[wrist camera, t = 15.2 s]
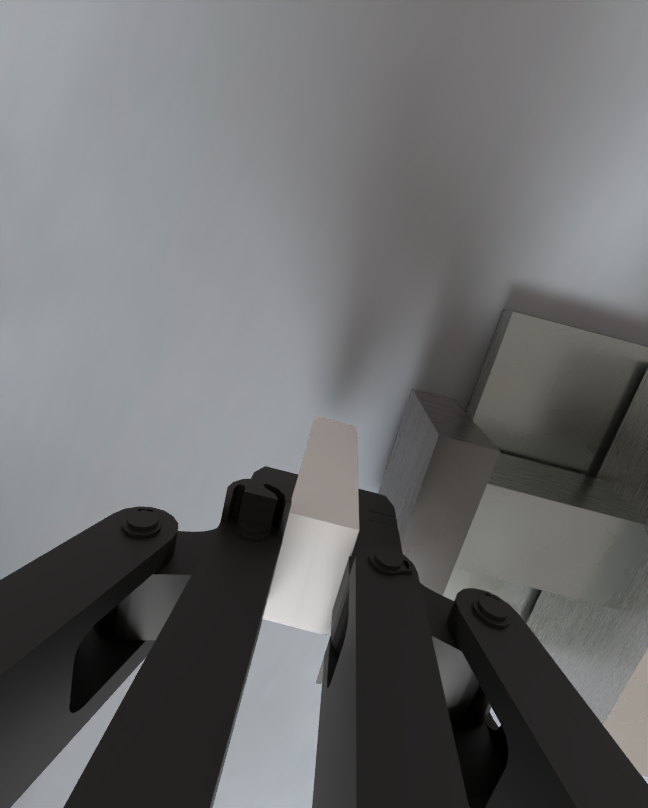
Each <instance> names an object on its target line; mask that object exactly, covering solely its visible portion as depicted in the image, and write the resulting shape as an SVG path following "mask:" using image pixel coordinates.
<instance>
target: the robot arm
mask: <svg viewBox="0 0 648 808" xmlns="http://www.w3.org/2000/svg"><path fill="white" fill-rule="evenodd" d="M397 527H398V525H397V519H396V514H395V508H394V506H393V505H392V503H391V502H390V501H389V500H388V498H387V497H386V496H385V495H381V494H377V493H373V492H369V491H365V490H361V489H358V456H357V427H356V426H352V425H348V424H344V423H340V422H336V421H332V420H328V419H325V418H321V417H317V416H315V419H314V422H313V426H312V429H311V433H310V436H309V440H308V443H307V447H306V450H305V454H304V457H303V461H302V464H301V468H300V471H299V475H297V474H293V473H290V472H286V471H282V470H278V469H274V468H270V467H266V466H265V467H263V468H261V469H259V470H258V471H256V472H254V474H253V476H252V478H251V479H242V480H239V481H235V482H233V483H232V484H231V485H230V486H228V488H227V493H226V498H225V503H224V508H223V513H222V518H221V522H220V524H219V526H218V528H216V529H214V530H209V531H204V532H184V531H178V523H177V521H176V520H175V518H174V517H173V516H172V515H170V514H169V513H167V512H165V511H163V510H160V509H156V508H153V507H133V508H127V509H123V510H121V511H118V512H116V513H113V514H112V515H110V516H108V517H107V518H105V519H103V520H102V521H100V522H98V523H96V524H95V525H93V526H91V527H90V528H88V529H86V530H85V531H83V532H81V533H79V534H78V535H76V536H74V537H73V538H71V539H69V540H68V541H66V542H64V543H63V544H61V545H59V546H57V547H56V548H54V549H52V550H51V551H49V552H47V553H46V554H44V555H42V556H40V557H39V558H37V559H35V560H34V561H32V562H30V563H29V564H27V565H25V566H23V567H22V568H20V569H18V570H17V571H15V572H13V573H12V574H10V575H8V576H6V577H5V578H3V579H1V580H0V808H10V807H11V806H12V805H13V804H14V803H15V802H16V801H17V800H18V798H19V797H20V796H21V795H22V794H23V793H24V792H25V791H26V790H27V788H28V787H29V786H30V785H31V784H32V783H33V782H34V781H35V780H36V778H37V777H38V776H39V775H40V774H41V773H42V772H43V771H44V770H45V768H46V767H47V766H48V765H49V764H50V763H51V762H52V761H53V760H54V758H55V757H56V756H57V755H58V754H59V753H60V752H61V751H62V750H63V748H64V747H65V746H66V745H67V744H68V743H69V742H70V741H71V740H72V738H73V737H74V736H75V735H76V734H77V733H78V732H79V731H80V730H81V728H82V727H83V726H84V725H85V724H86V723H87V722H88V721H89V720H90V718H91V717H92V716H93V715H94V714H95V713H96V712H97V711H98V710H99V709H100V707H101V706H102V705H103V704H104V703H105V702H106V701H107V700H108V699H109V697H110V696H111V695H112V694H113V693H114V692H115V691H116V690H117V689H118V687H119V686H120V685H121V684H122V683H123V682H124V681H125V680H126V679H127V677H128V676H129V675H130V674H131V673H132V672H133V671H134V670H135V669H136V667H137V666H138V665H139V664H140V663H141V662H142V661H143V660H144V659H145V657H146V656H147V657H146V659H145V661H144V662H143V664H142V666H141V668H140V670H139V671H138V673H137V675H136V677H135V679H134V681H133V682H132V684H131V686H130V688H129V690H128V691H127V693H126V695H125V697H124V699H123V701H122V702H121V704H120V706H119V708H118V710H117V711H116V713H115V715H114V717H113V719H112V721H111V722H110V724H109V726H108V728H107V730H106V731H105V733H104V735H103V737H102V739H101V740H100V742H99V744H98V746H97V748H96V750H95V751H94V753H93V755H92V757H91V759H90V760H89V762H88V764H87V766H86V768H85V770H84V771H83V773H82V775H81V777H80V779H79V780H78V782H77V784H76V786H75V788H74V790H73V791H72V793H71V795H70V797H69V799H68V800H67V802H66V804H65V806H64V808H213V804H214V800H215V796H216V792H217V789H218V785H219V781H220V777H221V774H222V770H223V766H224V762H225V759H226V755H227V751H228V747H229V744H230V740H231V736H232V732H233V729H234V725H235V721H236V717H237V714H238V710H239V706H240V702H241V699H242V695H243V691H244V687H245V684H246V680H247V676H248V672H249V669H250V665H251V661H252V657H253V654H254V650H255V646H256V642H257V639H258V635H259V631H260V627H261V623H262V619H264V620H268V621H272V622H276V623H280V624H284V625H288V626H292V627H296V628H300V629H304V630H307V631H311V632H315V633H319V634H323V635H327V633H328V630H329V627H330V623H331V620H332V624H331V636H330V639H329V642H328V646H327V649H326V652H325V655H324V658H323V662H322V665H321V668H320V671H319V674H318V678H317V681H316V683H318V684H321V683H322V693H321V705H320V718H319V730H318V743H317V755H316V767H315V780H314V792H313V804H312V808H648V784H647V783H646V781H645V780H644V779H643V777H642V776H641V775H640V773H639V772H638V771H637V769H636V768H635V767H634V765H633V764H632V763H631V761H630V760H629V759H628V757H627V756H626V755H625V753H624V752H623V751H622V750H621V748H620V747H619V746H618V744H617V743H616V742H615V740H614V739H613V738H612V736H611V735H610V734H609V732H608V731H607V730H606V728H605V727H604V726H603V724H602V723H601V722H600V720H599V719H598V718H597V716H596V715H595V714H594V713H593V711H592V710H591V709H590V707H589V706H588V705H587V703H586V702H585V701H584V699H583V698H582V697H581V695H580V694H579V693H578V691H577V690H576V689H575V687H574V686H573V685H572V683H571V682H570V681H569V679H568V678H567V677H566V676H565V674H564V673H563V672H562V670H561V669H560V668H559V666H558V665H557V664H556V662H555V661H554V660H553V658H552V657H551V656H550V654H549V653H548V652H547V650H546V649H545V648H544V646H543V645H542V644H541V642H540V641H539V640H538V639H537V637H536V636H535V635H534V633H533V632H532V631H531V629H530V628H529V627H528V625H527V624H526V623H525V621H524V620H523V619H522V617H521V616H520V615H519V614H518V613H517V612H516V611H515V610H514V609H513V608H512V607H511V605H509V604H508V603H506V602H505V601H504V600H502V599H501V598H500V597H498V596H496V595H494V594H491V593H490V592H487V591H484V590H480V589H476V588H467V589H462V590H461V591H460V592H458V593H457V595H456V598H455V600H454V601H453V600H451V599H449V598H446V597H444V596H442V595H440V594H438V593H436V592H434V591H432V590H431V589H429V588H427V587H425V586H424V585H423V584H421V583H420V580H419V576H418V572H417V570H416V568H415V566H414V564H413V563H412V562H411V561H410V560H409V559H408V558H407V557H406V556H405V555H403V552H402V547H401V541H400V536H399V530H398V528H397ZM322 680H323V681H322ZM491 707H492V709H493V710H494V712H495V714H496V716H497V718H498V720H499V722H500V723H501V726H500V727H498V726H497V724H496V723H495V721H494V720H493V718H492V716H491V714H490V712H489V711H490V709H491Z"/></svg>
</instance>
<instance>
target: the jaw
mask: <svg viewBox="0 0 648 808" xmlns="http://www.w3.org/2000/svg"><path fill="white" fill-rule="evenodd" d="M378 494H381V495H385V496H386V497H387V498H388V500H389V501H390V502H391V503H392V505H393V506H394V508H395V514H396V519H397V525H398V527H397V528H398V530H399V536H400V541H401V547H402V552H403V555H405V556H406V557H407V558H408V559H409V560H410V561H411V562H412V563H413V564H414V566H415V568H416V570H417V572H418V576H419V580H420V583H421V584H423V585H424V586H425V587H427V588H429V589H431V590H432V591H434V592H436V593H438V594H440V595H442V596H443V594H444V591H445V589H446V586H447V584H448V581H449V579H450V576H451V574H452V571H453V569H454V568H458V569H462V570H466V571H470V572H474V573H477V574H481V575H485V576H489V577H493V578H497V579H501V580H504V581H508V582H512V583H516V584H520V585H524V586H528V587H532V588H535V589H539V590H542V592H541V594H540V596H539V598H538V600H537V602H536V604H535V607H534V609H533V611H532V613H531V615H530V617H529V619H528V621H527V623H526V624H527V625H528V627H529V628H530V629H531V631H532V632H533V633H534V635H535V636H536V637H537V639H538V640H539V641H540V642H541V644H542V645H543V646H544V648H545V649H546V650H547V652H548V653H549V654H550V656H551V657H552V658H553V660H554V661H555V662H556V664H557V665H558V666H559V668H560V669H561V670H562V672H563V673H564V674H565V676H566V677H567V678H568V679H569V681H570V682H571V683H572V685H573V686H574V687H575V689H576V690H577V691H578V693H579V694H580V695H581V697H582V698H583V699H584V701H585V702H586V703H587V705H588V706H589V707H590V709H591V710H592V711H593V713H594V714H595V715H596V716H597V718H598V719H599V720H600V722H601V723H602V724H603V726H604V727H605V728H606V730H607V731H608V732H609V734H610V735H611V736H612V738H613V739H614V740H615V742H616V743H617V744H618V746H619V747H620V748H621V750H622V751H623V752H624V753H625V755H626V756H627V757H628V759H629V760H630V761H631V763H632V764H633V765H634V767H635V768H636V769H637V771H638V772H639V773H640V775H643V776H647V777H648V369H647V371H646V373H645V375H644V377H643V379H642V381H641V383H640V385H639V388H638V390H637V392H636V394H635V396H634V398H633V400H632V402H631V404H630V406H629V409H628V411H627V413H626V415H625V417H624V419H623V421H622V423H621V425H620V428H619V430H618V432H617V434H616V436H615V438H614V440H613V442H612V444H611V446H610V449H609V451H608V453H607V455H606V457H605V459H604V461H603V463H602V465H601V468H600V470H599V472H598V474H597V476H596V478H595V477H591V476H587V475H584V474H580V473H576V472H572V471H568V470H564V469H561V468H557V467H553V466H549V465H545V464H541V463H538V462H534V461H530V460H526V459H522V458H518V457H515V456H511V455H507V454H503V453H500V450H499V449H498V448H497V447H496V446H495V445H494V444H493V443H492V441H491V440H490V439H489V438H488V437H487V436H486V435H485V434H484V432H483V431H482V430H481V429H480V428H479V427H478V426H477V425H476V423H475V422H474V421H473V420H472V419H471V418H470V417H469V416H468V415H467V413H466V412H465V411H464V410H463V409H462V408H461V407H460V406H459V404H458V403H457V402H456V401H455V400H453V399H449V398H445V397H441V396H438V395H434V394H430V393H426V392H422V391H418V390H415V389H412V391H411V394H410V397H409V400H408V403H407V406H406V409H405V412H404V416H403V419H402V422H401V425H400V428H399V431H398V434H397V437H396V440H395V444H394V447H393V450H392V453H391V456H390V459H389V462H388V465H387V468H386V472H385V475H384V478H383V481H382V484H381V487H380V490H379V493H378Z"/></svg>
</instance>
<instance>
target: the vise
mask: <svg viewBox="0 0 648 808" xmlns="http://www.w3.org/2000/svg"><path fill="white" fill-rule="evenodd" d="M647 369H648V347H646V346H642V345H638V344H635V343H631V342H627V341H623V340H620V339H616V338H612V337H608V336H604V335H601V334H597V333H593V332H589V331H585V330H582V329H578V328H574V327H570V326H567V325H563V324H559V323H555V322H551V321H548V320H544V319H540V318H536V317H532V316H529V315H525V314H521V313H517V312H514V311H508V310H503V312H502V315H501V318H500V321H499V323H498V326H497V329H496V332H495V334H494V337H493V340H492V343H491V345H490V348H489V351H488V354H487V356H486V359H485V362H484V365H483V367H482V370H481V373H480V375H479V378H478V381H477V384H476V386H475V389H474V392H473V395H472V397H471V400H470V403H469V406H468V408H467V411H466V413H467V415H468V416H469V417H470V418H471V419H472V420H473V421H474V422H475V423H476V425H477V426H478V427H479V428H480V429H481V430H482V431H483V432H484V434H485V435H486V436H487V437H488V438H489V439H490V440H491V441H492V443H493V444H494V445H495V446H496V447H497V448H498V449H499V450H500V453H503V454H507V455H511V456H515V457H518V458H522V459H526V460H530V461H534V462H538V463H541V464H545V465H549V466H553V467H557V468H561V469H564V470H568V471H572V472H576V473H580V474H584V475H587V476H591V477H595V478H596V476H597V474H598V472H599V470H600V468H601V465H602V463H603V461H604V459H605V457H606V455H607V453H608V451H609V449H610V446H611V444H612V442H613V440H614V438H615V436H616V434H617V432H618V430H619V428H620V425H621V423H622V421H623V419H624V417H625V415H626V413H627V411H628V409H629V406H630V404H631V402H632V400H633V398H634V396H635V394H636V392H637V390H638V388H639V385H640V383H641V381H642V379H643V377H644V375H645V373H646V371H647ZM467 588H476V589H480V590H484V591H487V592H490V593H491V594H494V595H496V596H498V597H500V598H501V599H502V600H504V601H505V602H506V603H508V604H509V605H511V607H512V608H513V609H514V610H515V611H516V612H517V613H518V614H519V615H520V616H521V617H522V619H523V620H524V621H525V623H527V621H528V619H529V617H530V615H531V613H532V611H533V609H534V607H535V604H536V602H537V600H538V598H539V596H540V594H541V592H542V590H539V589H535V588H532V587H528V586H524V585H520V584H516V583H512V582H508V581H504V580H501V579H497V578H493V577H489V576H485V575H481V574H477V573H474V572H470V571H466V570H462V569H458V568H454V569H453V571H452V574H451V576H450V579H449V581H448V584H447V586H446V589H445V591H444V594H443V596H444V597H446V598H449V599H451V600H453V601H454V600H455V598H456V595H457V593H458V592H460V591H461V590H462V589H467Z"/></svg>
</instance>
